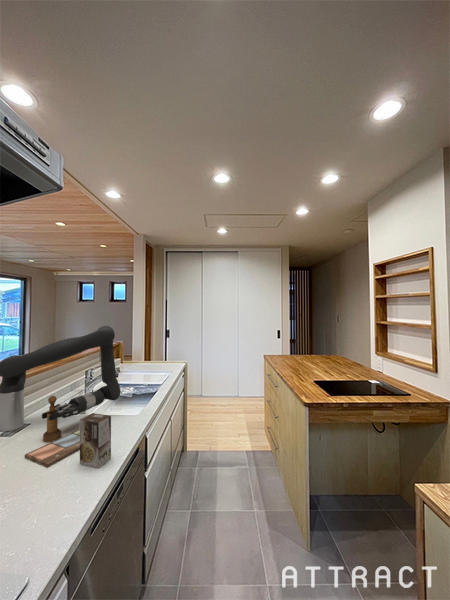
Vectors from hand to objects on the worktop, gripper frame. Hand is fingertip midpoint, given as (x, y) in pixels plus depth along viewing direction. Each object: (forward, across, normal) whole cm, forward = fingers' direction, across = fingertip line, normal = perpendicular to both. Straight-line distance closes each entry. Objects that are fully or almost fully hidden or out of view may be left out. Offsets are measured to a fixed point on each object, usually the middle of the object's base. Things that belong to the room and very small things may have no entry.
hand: (45, 417), depth 112 cm
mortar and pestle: (-3, 0, +10) cm, 11 cm away
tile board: (-3, +12, +10) cm, 16 cm away
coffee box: (+1, +31, +10) cm, 33 cm away
